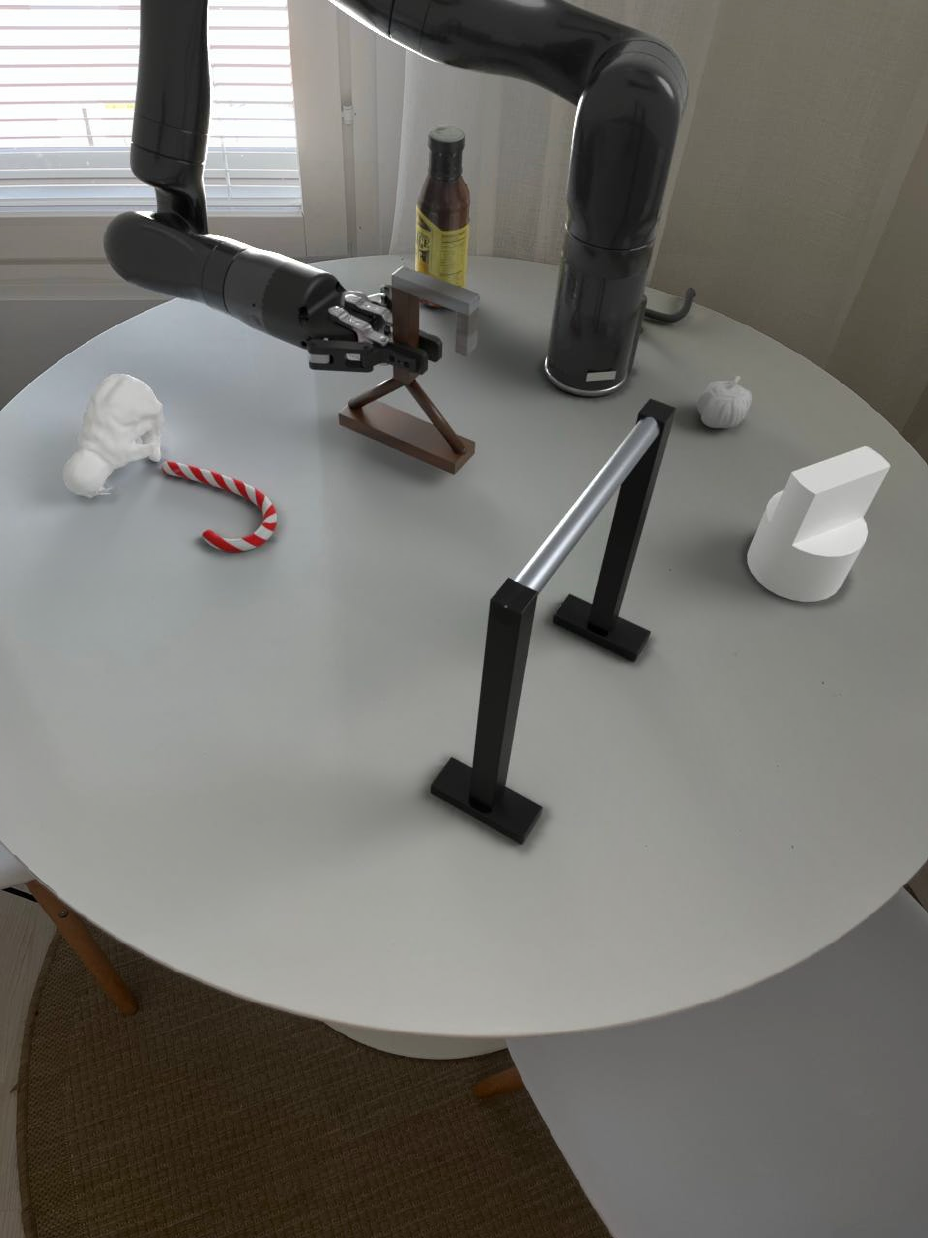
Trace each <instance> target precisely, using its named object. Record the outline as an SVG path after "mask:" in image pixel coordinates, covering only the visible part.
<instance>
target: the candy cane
mask: <svg viewBox="0 0 928 1238" xmlns="http://www.w3.org/2000/svg"><path fill="white" fill-rule="evenodd" d="M161 472H162V473H163V474H166V475H169V476H174V477H178V478H182V479H186V480H191V481H195V482H198V483H202V484H206V485H208V486H213V487H216V488H219V489H222V490H224V491H228V492H230V493H233V494H236V495H238V496H240V497H243V498H244V499H247V500H248V501H250V502H251V503H252V504H254V505H256V506H257V507H258V509H259V510H260V511H261V513H262V522H261V524H260V526H259V527H258V528H257V529H256V530H255V531H254V532H253V533H251V534H249V535H247V536H243V537H238V538H224V537H221V536H219V535H218V534H216V533H215V532H214V531H213V530H212V529H206V530H204V531H203V533H202V536H201V537H202V539H203V540H204V541H205V542H206V543H207V544H208V545H209V546H211V547H212V548H214V549H216V550H218V551H222V552H228V553H240V552H247V551H251V550H254V549H257V548H258V547H260V546H261V545H264V543H265V542H266V541H268V540H269V539H270V538H271V536H272V535H273V533H274V532H275V530H276V527H277V522H278V516H277V515H278V513H277V510H276V508H275V505H274V504H273V502H272V501H271V500H270V498H269V497H268V496H267V495H265V494H264V492H263V493H262V491H260V490H259V489H257V488H255V487H254V486H252V485H250V484H248V483H246V482H243V481H241V480H238V479H237V478H233V477H230V476H228V475H224V474H220V473H217V472H214V471H212V470H207V469H203V468H200V467H197V466H192V465H188V464H184V463H180V462H175V461H168V460H166V461H163V462H162V464H161Z"/></svg>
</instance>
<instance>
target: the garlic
mask: <svg viewBox="0 0 928 1238" xmlns="http://www.w3.org/2000/svg"><path fill="white" fill-rule="evenodd" d="M740 380H741V376H739V375H736V376H735V378H734V380H733V381H730V380H729V381H727V380H719V381H712V382H710V383H709V384H708V385H707V387H706V388H705V389H704V391H703V392H702V393H701V395H700V396H699V398H698V400H697V403H696V409H697V411H698V413H699V415H700V420H701V422H702V423H703V424H704V425H705V426H707V427H709V428H711V429H731V428H735V427H736V426H738V425H740V423H741V422H742V421H743V419H744V418H745V417H746V416H747V414H748V412H749V410H750V408H751V405H752V402H753V395H752V392H751V391H750V390H749V389H747V388H745V387H743V386H741V385H740V384H738V382H739V381H740Z"/></svg>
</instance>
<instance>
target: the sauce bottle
mask: <svg viewBox="0 0 928 1238" xmlns="http://www.w3.org/2000/svg"><path fill="white" fill-rule="evenodd" d="M426 142H427V147H428V166H427V171H426V173H425V177H424V178H423V179H424V180H423V182H422V185H421V187H420V189H419V190H420V191H419V192H418V193H419V194H418V196H417V199H416V204H415V205H416V207H415V248H414V249H415V261H414V262H415V266H414V267H415V268H414V270H415V271H418V272H420V273H423V274H426V275H428V276H431V277H434V278H437V279H439V280H442V281H445V282H448V283H450V284H453V285H456V286H459V287H461V288H464V289H466V283H467V268H468V267H467V265H468V253H469V252H468V251H469V238H470V237H469V236H470V220H471V218H470V207H471V194H470V190H469V186H468V184H467V183H466V182H465V180H464V178H463V175H462V174H463V153H464V149H465V148H466V147H465V146H466V134H465V132H464V130H463V129H462V128H461V127H457V126H455V125H451V124H440V125H436V126H433V127H432V128H431V129H429V130H428V133H427V141H426ZM420 301H421V302H422V304H424V305H426V306H427V307H434V308H439V309H441V308H446V307H444V306H441V305H438V304H436V303H433V302H430V301H428V300H425V299H422V298H420Z"/></svg>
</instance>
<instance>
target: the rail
mask: <svg viewBox="0 0 928 1238" xmlns="http://www.w3.org/2000/svg"><path fill="white" fill-rule="evenodd" d="M676 411H677V407H674V406H672V405H669V404H666V403H664V402H661V401H659V400H656V399H653V398H649V399H647V401H646V403H644V404H643V406H642V407H641V408H640V410H639V411H638V413H637V418H636V421H635V423H634V426H633V428H632V429H631V431H630V432H629V433H628V434H627V436H626V437H625V438H624V439H623V441H622V442H621V444H619V446H618V447H617V449H615V450H614V452H613V454H612V455H611V456H610V457H609V459H608V460H607V461H606V463H605V464H604V465H603V466H602V468H601V469H600V470H599V472H598V473H597V474H596V475H595V477H594V478H593V479H592V480H591V481H590V483H589V484H588V485H587V487H586V488H585V489H584V490H583V492H582V493H581V494H580V496H579V497H578V498H577V499H576V501H575V502H574V503H573V504H572V506H570V509H569V510H568V511H567V512H566V514H565V515H564V516H563V517H562V519H561V520H560V521H559V522H558V524H557V525H556V526H555V527H554V529H553V530H552V531H551V532H550V534H549V535H548V536H547V537H546V539H545V540H544V541H543V543H542V544H541V545H540V547H539V548H538V549H537V550H536V552H535V553H534V554H533V555H532V557H531V558H530V559H529V561H528V562H527V563H526V564H525V565H524V566H523V568H522V570H521V571H519V573H518V574H517V576H516V577H515V578H514V579H512V578H510V577H506V578H505V580H504V581H503V582H502V584H501V585H500V586H499V587H498V589H496V591H495V593H494V594H493V595H492V596H491V597H490V599H489V607H488V617H487V627H486V634H485V643H484V644H485V646H484V656H483V662H482V663H483V664H482V672H481V673H482V674H481V681H480V682H481V683H480V690H479V691H480V692H479V702H478V708H477V709H478V710H477V719H476V728H475V737H474V747H473V756H472V766H469V764H468V765H467V764H465V763H464V762H463V761H460V760H458V759H457V758H455V757H454V756H450V758H449V759H448V760H447V762H446V763H445V764H444V766H443V767H442V768H441V770H440V772H439V773H438V774H437V776H436V777H435V779H433V781H432V783H431V784H430V794H432V795H433V796H435V797H437V798H439V799H440V800H441V801H444V802H445V803H448V804H449V805H450V806H453V807H455V808H456V809H458V810H460V811H461V812H463V813H465V814H467V815H469V816H470V817H472V818H474V819H476V820H478V821H479V822H480V823H482V824H484V825H486V826H488V827H490V828H491V829H493V830H495V831H497V832H498V833H500V834H502V835H504V836H505V837H507V838H509V839H510V840H513V841H514V842H516V843H518V844H520V845H522V846H523V845H524V844H525V842H526V841H527V838H529V835H530V834H531V832H532V831H533V829H534V827H536V824H537V822H538V821H539V819H540V817H541V816H542V814H543V809H544V808H543V806H542V805H540V804H538V803H536V802H535V801H533V800H531V799H529V798H528V797H526V796H524V795H522V794H520V793H519V792H516V791H515V790H514V789H512V788H510V787H508V786H506V785H507V779H508V773H509V767H510V762H511V755H512V751H513V745H514V738H515V732H516V726H517V720H518V714H519V710H520V709H519V708H520V702H521V696H522V691H523V685H524V679H525V673H526V667H527V661H528V656H529V649H530V643H531V639H532V638H531V637H532V632H533V625H534V620H535V619H534V618H535V614H536V613H535V612H536V607H537V601H538V596H539V595H540V593H541V592H542V591H543V590H544V588H545V587H546V585H547V584H548V583H549V581H550V580H551V579H552V578H553V576H554V574H555V573H556V572H557V571H558V569H560V567H561V566H562V564H563V563H564V562H565V560H566V559H567V557H568V556H569V555H570V553H571V552H572V551H573V550H574V548H575V547H576V546H577V545H578V543H579V542H580V540H581V539H582V537H583V536H584V535H585V533H586V532H587V531H588V530H589V528H590V527H591V526H592V524H593V523H594V521H595V520H596V519H597V518H598V516H599V515H600V514H601V512H602V511H603V510H604V508H605V507H606V505H607V504H608V503H609V501H610V500H611V499H612V498H613V496H614V495H615V493H616V492H617V491H618V489H619V492H618V496H617V499H616V504H615V507H614V512H613V516H612V520H611V523H610V528H609V532H608V537H607V541H606V545H605V549H604V554H603V558H602V561H601V565H600V571H599V575H598V579H597V582H596V587H595V591H594V594H593V599H592V603H591V602H589V601H586V600H585V599H582V598H581V597H578V596H576V595H574V594H572V593H568V594H567V595H566V597H565V598H564V600H563V601H562V602H561V604H560V605H559V606H558V608H557V609H556V610H555V612H554V614H553V616H552V621H551V622H552V624H553V625H556V626H558V627H560V628H562V629H563V630H566V631H569V632H570V633H572V634H574V635H577V636H579V637H581V638H583V639H585V640H587V641H589V642H591V643H593V644H596V645H597V646H599V647H602V648H604V649H606V650H608V651H610V652H612V653H614V654H615V655H619V657H623V658H624V659H627V660H629V661H631V662H633V663H635V662H636V661H637V659H638V658H639V656H640V654H641V653H642V651H643V649H644V647H645V646H646V644H647V643H648V642H649V640H650V636H651V633H652V631H651V630H649V629H647V628H644V627H643V626H640V625H638V624H636V623H633V622H632V621H630V620H627V619H626V618H623V617H621V616H619V615H620V613H621V609H622V605H623V601H624V597H625V594H626V591H627V586H628V583H629V579H630V576H631V572H632V569H633V565H634V562H635V558H636V554H637V551H638V548H639V545H640V541H641V536H642V532H643V529H644V526H645V522H646V518H647V515H648V512H649V508H650V504H651V502H652V497H653V494H654V490H655V488H656V483H657V480H658V476H659V473H660V468H661V465H662V462H663V459H664V455H665V450H666V447H667V444H668V440H669V437H670V433H671V429H672V426H673V422H674V420H675V415H676Z"/></svg>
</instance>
